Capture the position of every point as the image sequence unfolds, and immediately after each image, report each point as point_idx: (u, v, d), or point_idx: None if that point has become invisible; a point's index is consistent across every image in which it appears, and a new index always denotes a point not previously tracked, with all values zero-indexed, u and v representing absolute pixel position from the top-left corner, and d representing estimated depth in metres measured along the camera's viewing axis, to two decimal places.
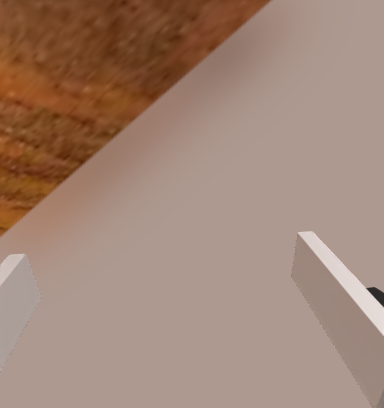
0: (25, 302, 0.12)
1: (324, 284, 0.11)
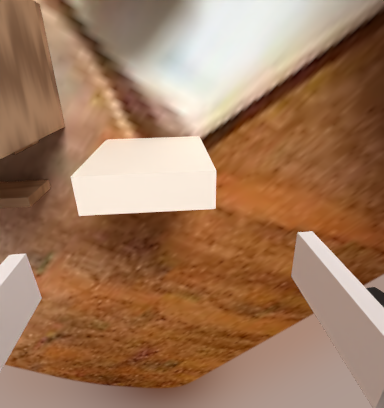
0: (25, 302, 0.12)
1: (324, 284, 0.11)
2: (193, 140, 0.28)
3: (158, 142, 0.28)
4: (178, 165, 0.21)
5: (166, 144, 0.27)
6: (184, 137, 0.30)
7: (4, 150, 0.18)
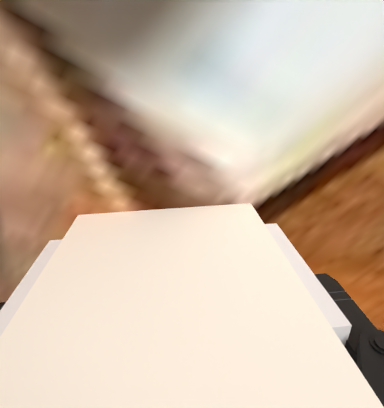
0: None
1: None
2: (246, 220, 0.14)
3: (178, 228, 0.14)
4: (260, 389, 0.07)
5: (196, 238, 0.13)
6: (224, 207, 0.16)
7: None
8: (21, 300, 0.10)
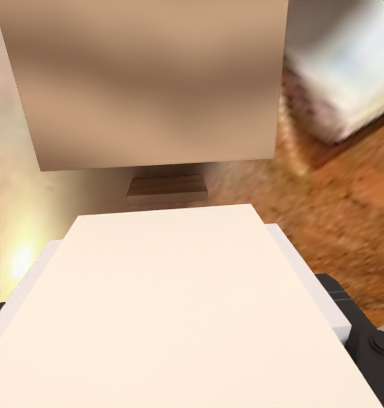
0: None
1: None
2: (246, 221, 0.14)
3: (178, 229, 0.14)
4: (261, 391, 0.07)
5: (196, 238, 0.13)
6: (224, 208, 0.16)
7: None
8: (21, 300, 0.10)
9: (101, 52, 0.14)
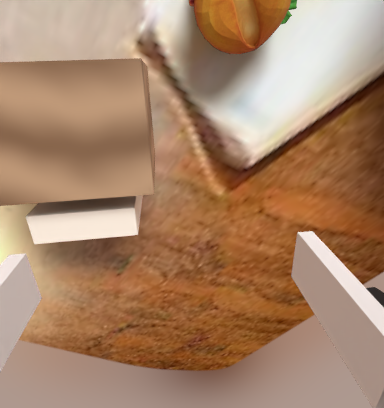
0: (25, 302, 0.12)
1: (324, 284, 0.11)
2: None
3: None
4: (108, 203, 0.28)
5: None
6: None
7: None
8: None
9: (20, 129, 0.21)
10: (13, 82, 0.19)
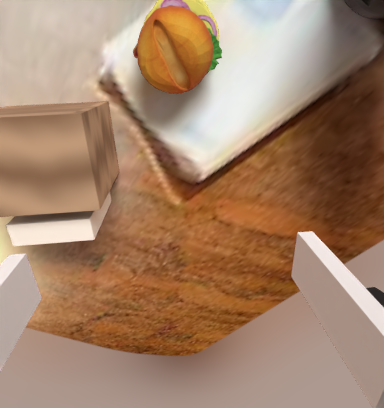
0: (25, 302, 0.12)
1: (324, 284, 0.11)
2: None
3: None
4: (71, 214, 0.35)
5: None
6: None
7: (103, 198, 0.33)
8: None
9: None
10: None
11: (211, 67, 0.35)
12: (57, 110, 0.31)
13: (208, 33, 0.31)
